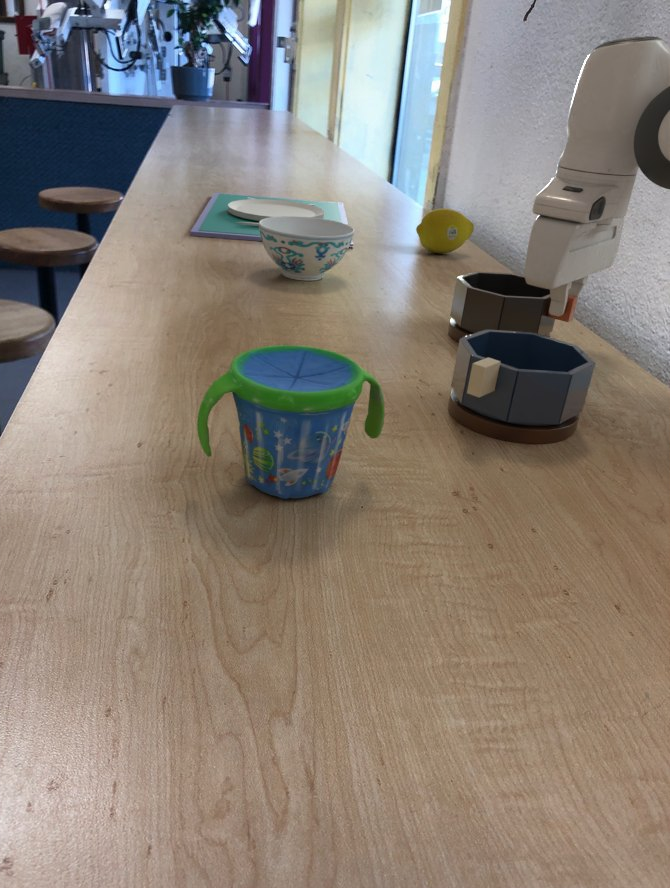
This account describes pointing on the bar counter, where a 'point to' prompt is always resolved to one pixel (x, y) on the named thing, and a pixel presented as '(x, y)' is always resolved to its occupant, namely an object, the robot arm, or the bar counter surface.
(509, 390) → the slate bowl
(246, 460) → the snack cup
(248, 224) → the place mat
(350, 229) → the chinaware
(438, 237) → the lemon
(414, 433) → the bar counter surface
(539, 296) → the dark grey octagonal pot
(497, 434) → the disc
